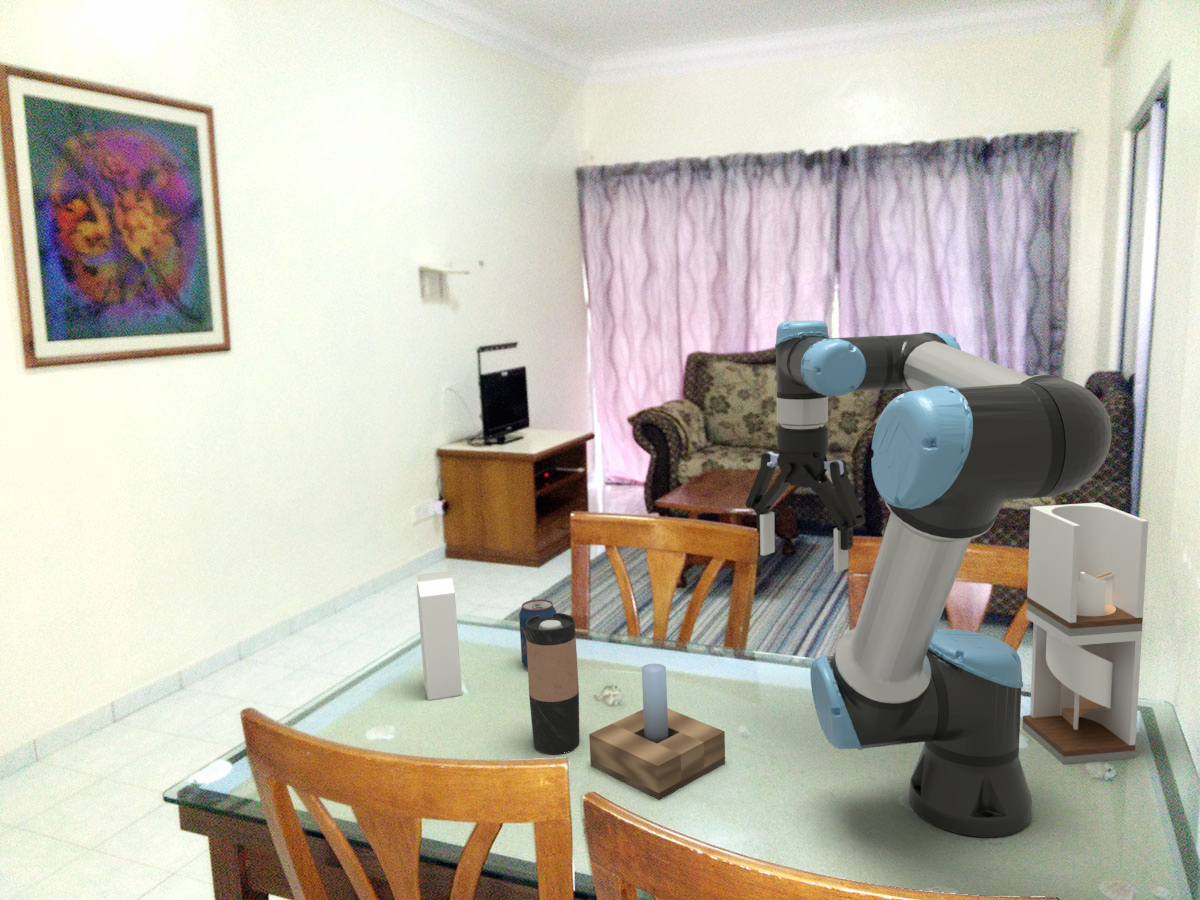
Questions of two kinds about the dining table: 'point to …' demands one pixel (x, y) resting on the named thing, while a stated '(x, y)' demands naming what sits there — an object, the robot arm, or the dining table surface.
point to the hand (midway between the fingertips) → (803, 561)
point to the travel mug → (553, 682)
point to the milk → (439, 634)
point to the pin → (655, 702)
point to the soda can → (529, 610)
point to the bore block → (657, 753)
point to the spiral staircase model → (1085, 629)
